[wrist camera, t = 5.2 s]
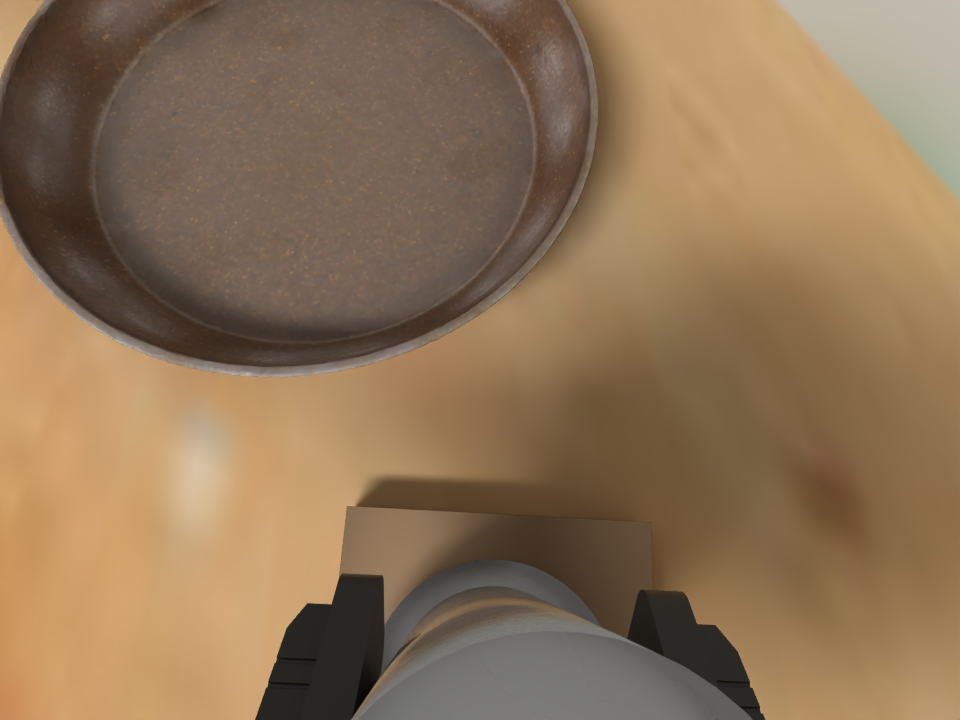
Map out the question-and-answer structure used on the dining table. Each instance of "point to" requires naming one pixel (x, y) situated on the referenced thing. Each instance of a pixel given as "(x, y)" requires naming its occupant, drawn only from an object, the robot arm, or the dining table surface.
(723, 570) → the dining table surface
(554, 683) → the metal cylinder canister
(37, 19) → the brown shallow round tray
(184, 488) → the dining table surface
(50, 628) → the dining table surface
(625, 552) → the stand
